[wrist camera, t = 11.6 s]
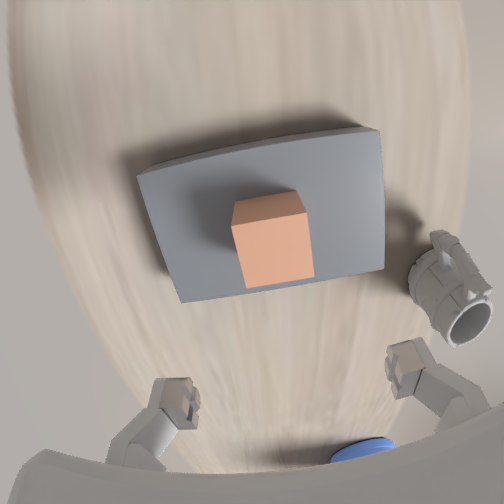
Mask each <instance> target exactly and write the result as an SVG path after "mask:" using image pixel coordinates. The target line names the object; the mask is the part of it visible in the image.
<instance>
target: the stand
mask: <svg viewBox="0 0 504 504" xmlns="http://www.w3.org/2000/svg"><path fill="white" fill-rule="evenodd" d="M136 177H137V180H138V183H139V187H140V190H141V193H142V196H143V199H144V202H145V205H146V208H147V211H148V215H149V218H150V220H151V223H152V226H153V229H154V232H155V235H156V238H157V241H158V244H159V246H160V249H161V252H162V255H163V257H164V260H165V263H166V265H167V268H168V271H169V273H170V276H171V279H172V281H173V284H174V286H175V289H176V291H177V294H178V296H179V299H180V301H181V303H187V302H195V301H202V300H209V299H216V298H222V297H229V296H236V295H242V294H249V293H255V292H261V291H267V290H273V289H279V288H285V287H291V286H297V285H303V284H308V283H314V282H319V281H325V280H330V279H336V278H341V277H346V276H351V275H357V274H362V273H367V272H372V271H377V270H382V269H384V262H385V201H384V178H383V163H382V150H381V139H380V131H378V130H375V129H371V128H368V127H364V126H360V127H349V128H340V129H331V130H323V131H315V132H308V133H301V134H294V135H288V136H282V137H276V138H270V139H264V140H259V141H253V142H248V143H243V144H238V145H233V146H228V147H224V148H219V149H215V150H210V151H206V152H202V153H197V154H193V155H189V156H185V157H181V158H177V159H173V160H170V161H166V162H162V163H159V164H155V165H151V166H150V167H148V168H147V169H146V170H144V171H143V172H141V173H140V174H139V175H137V176H136ZM291 191H297V192H298V194H299V197H300V199H301V201H302V203H303V205H304V208H305V210H306V212H307V218H308V225H309V233H310V241H311V250H312V258H313V267H314V277H311V278H306V279H300V280H294V281H288V282H282V283H277V284H271V285H264V286H258V287H252V288H246V285H245V281H244V277H243V273H242V269H241V265H240V261H239V257H238V253H237V249H236V245H235V241H234V237H233V233H232V229H231V222H232V217H233V211H234V205H235V201H241V200H246V199H251V198H257V197H262V196H268V195H273V194H279V193H285V192H291Z"/></svg>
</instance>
